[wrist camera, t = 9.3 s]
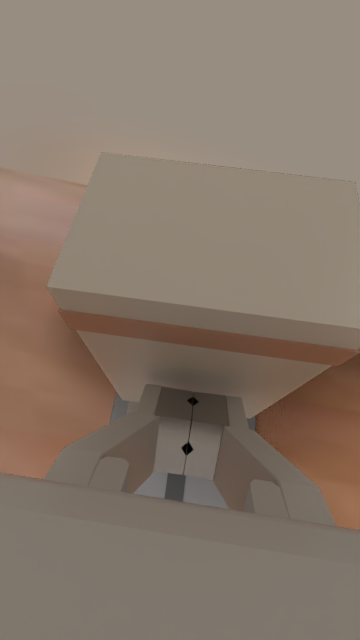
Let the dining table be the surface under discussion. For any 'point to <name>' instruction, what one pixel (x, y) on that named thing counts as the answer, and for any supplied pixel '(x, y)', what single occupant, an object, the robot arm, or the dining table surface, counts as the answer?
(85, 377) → the dining table surface
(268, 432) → the dining table surface
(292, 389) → the slider knob
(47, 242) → the dining table surface
